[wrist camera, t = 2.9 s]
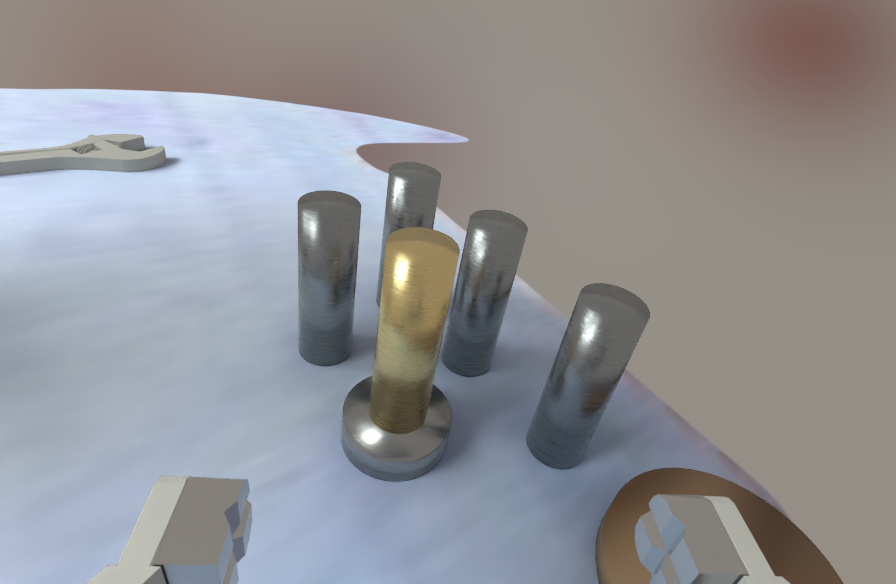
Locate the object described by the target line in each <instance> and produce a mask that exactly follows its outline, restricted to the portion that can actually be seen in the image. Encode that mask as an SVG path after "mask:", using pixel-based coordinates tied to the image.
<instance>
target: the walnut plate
mask: <svg viewBox="0 0 896 584" xmlns="http://www.w3.org/2000/svg"><path fill="white" fill-rule="evenodd" d="M658 494H670V495H702V496H723V497H728V498H729V499H730V500H731V501H732V502H734V504H735V505H736V507H737V509H738V511H739V513H740V514H741V516H742V518H743V520H744V521H745V523H746V525H747V527H748V528H749V530H750V532H751V534H752V536H753V537H754V539H755V541H756V543H757V544H758V546H759V548H760V550H761V552H762V553H763V555H764V557H765V559H766V560H767V562H768V564H769V566H770V568H771V569H772V571H773V573H774V575H775V576H781V577H783V578H784V579H786V580H787V581H788V582H789V583H790V584H843V582H842V581H841V579H840V577H839V576H838V574H837V573H836V572H835V570H834V569H833V567H832V566H831V564H830V563H829V562H828V560H827V559H826V558H825V557H824V555H823V554H822V553H821V552H820V550H819V549H818V548H817V547H816V546H815V545H814V544H813V542H812V541H811V540H810V539H809V538H808V537H807V536H806V535H805V534H804V533H803V532H802V531H801V530H800V529H799V528H798V527H797V526H796V525H795V524H793V523H792V522H791V521H790V520H789V519H788V518H787V517H785V516H784V515H783V514H782V513H780V512H779V511H778V510H777V509H776V508H774V507H773V506H771V505H770V504H768V503H767V502H766V501H764V500H763V499H761V498H760V497H758V496H756V495H755V494H753V493H751V492H750V491H748V490H746V489H744V488H742V487H740V486H738V485H736V484H735V483H733V482H730V481H728V480H725V479H723V478H720V477H718V476H715V475H712V474H708V473H705V472H701V471H696V470H692V469H683V468H662V469H656V470H652V471H648V472H645V473H642V474H640V475H638V476H636V477H634V478H633V479H632V480H630V481H629V482H628V483H626V484H625V485H624V486H623V488H622V489H621V490H620V491H619V492H618V494H617V495H616V497H615V499H614V501H613V502H612V504H611V506H610V507H609V509H608V511H607V513H606V514H605V516H604V518H603V519H602V522H601V525H600V528H599V530H598V536H597V541H596V567H597V574H598V579H599V583H600V584H649V583H650V579H651V575H652V573H651V572H650V571H649V570H648V569H647V568H646V567H645V566H644V565H643V564H642V563H641V562H640V559H639V556H638V553H637V550H636V544H635V527H636V524H637V522H638V520H639V519H640V517H641V516H642V515H644V514H646V513H647V512H649V511H651V509H650V507H649V502H650V501H651V499H652V497H653V496H656V495H658Z"/></svg>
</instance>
